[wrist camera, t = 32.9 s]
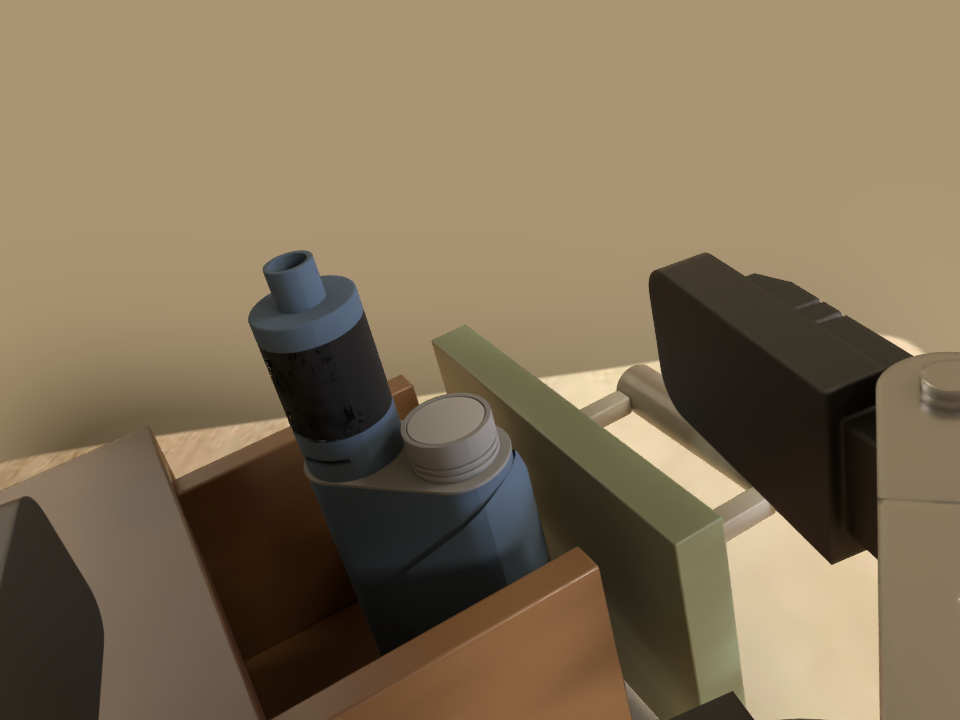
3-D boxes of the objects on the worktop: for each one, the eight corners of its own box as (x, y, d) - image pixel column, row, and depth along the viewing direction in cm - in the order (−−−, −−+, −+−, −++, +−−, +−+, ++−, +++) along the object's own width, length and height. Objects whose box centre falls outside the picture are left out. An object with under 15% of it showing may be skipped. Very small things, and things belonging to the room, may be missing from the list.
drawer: (630, 448, 32) (597, 263, 29) (897, 649, 23) (898, 414, 19) (122, 721, 27) (2, 535, 23) (205, 1128, 18) (27, 925, 14)
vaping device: (412, 617, 26) (271, 236, 20) (588, 643, 24) (488, 224, 18) (371, 691, 24) (202, 294, 18) (559, 728, 22) (435, 288, 16)
